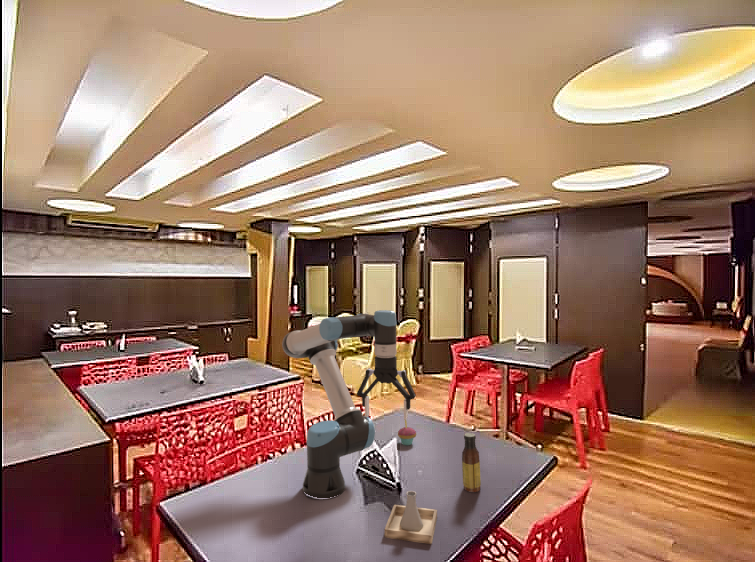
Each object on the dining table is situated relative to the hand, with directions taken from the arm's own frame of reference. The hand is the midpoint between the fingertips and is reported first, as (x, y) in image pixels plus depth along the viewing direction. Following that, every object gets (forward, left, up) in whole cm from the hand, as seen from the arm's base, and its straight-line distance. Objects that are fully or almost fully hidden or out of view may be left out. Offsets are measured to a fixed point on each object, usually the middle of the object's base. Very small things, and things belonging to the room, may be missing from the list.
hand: (386, 417), depth 150 cm
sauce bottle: (+28, +14, -29) cm, 43 cm away
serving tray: (+11, -14, -29) cm, 34 cm away
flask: (+11, -14, -28) cm, 33 cm away
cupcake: (-2, +50, -29) cm, 58 cm away
